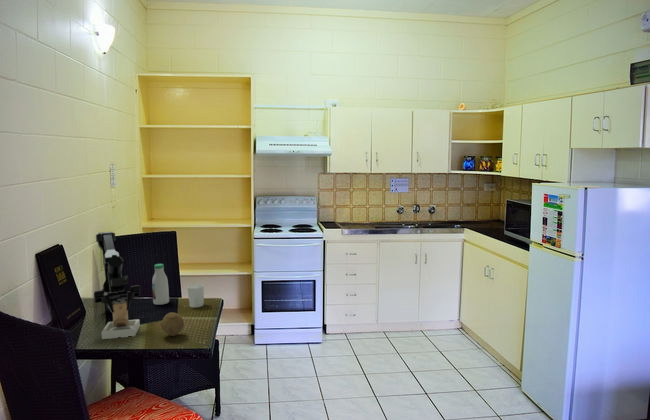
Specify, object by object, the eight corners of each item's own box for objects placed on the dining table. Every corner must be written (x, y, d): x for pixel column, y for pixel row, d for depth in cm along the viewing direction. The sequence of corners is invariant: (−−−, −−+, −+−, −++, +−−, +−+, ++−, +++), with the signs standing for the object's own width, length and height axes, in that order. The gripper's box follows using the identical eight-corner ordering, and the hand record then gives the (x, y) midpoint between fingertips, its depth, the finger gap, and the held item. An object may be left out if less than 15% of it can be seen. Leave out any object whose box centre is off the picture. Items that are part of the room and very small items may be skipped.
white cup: (207, 303, 253) (206, 284, 251) (199, 308, 245) (197, 288, 244) (194, 302, 255) (193, 283, 254) (185, 307, 248) (184, 287, 247)
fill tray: (102, 339, 207) (101, 332, 207) (108, 328, 220) (108, 321, 220) (135, 336, 210) (134, 329, 210) (139, 325, 223) (139, 319, 222)
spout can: (112, 324, 216) (110, 299, 215) (127, 321, 219) (125, 297, 217) (114, 329, 209) (113, 304, 208) (130, 327, 212) (128, 302, 211)
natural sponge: (156, 338, 207) (155, 315, 206) (170, 330, 215) (169, 308, 214) (175, 340, 204) (173, 317, 203) (188, 333, 212) (186, 310, 211)
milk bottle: (171, 300, 260) (169, 262, 257) (165, 305, 252) (163, 266, 250) (157, 300, 261) (154, 262, 258) (150, 305, 253) (148, 266, 251)
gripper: (92, 272, 211) (96, 305, 203) (138, 267, 220) (144, 297, 212) (92, 286, 219) (96, 318, 211) (137, 280, 228) (142, 310, 219)
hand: (120, 310), depth 213 cm, fingers closed on spout can, 6 cm apart
